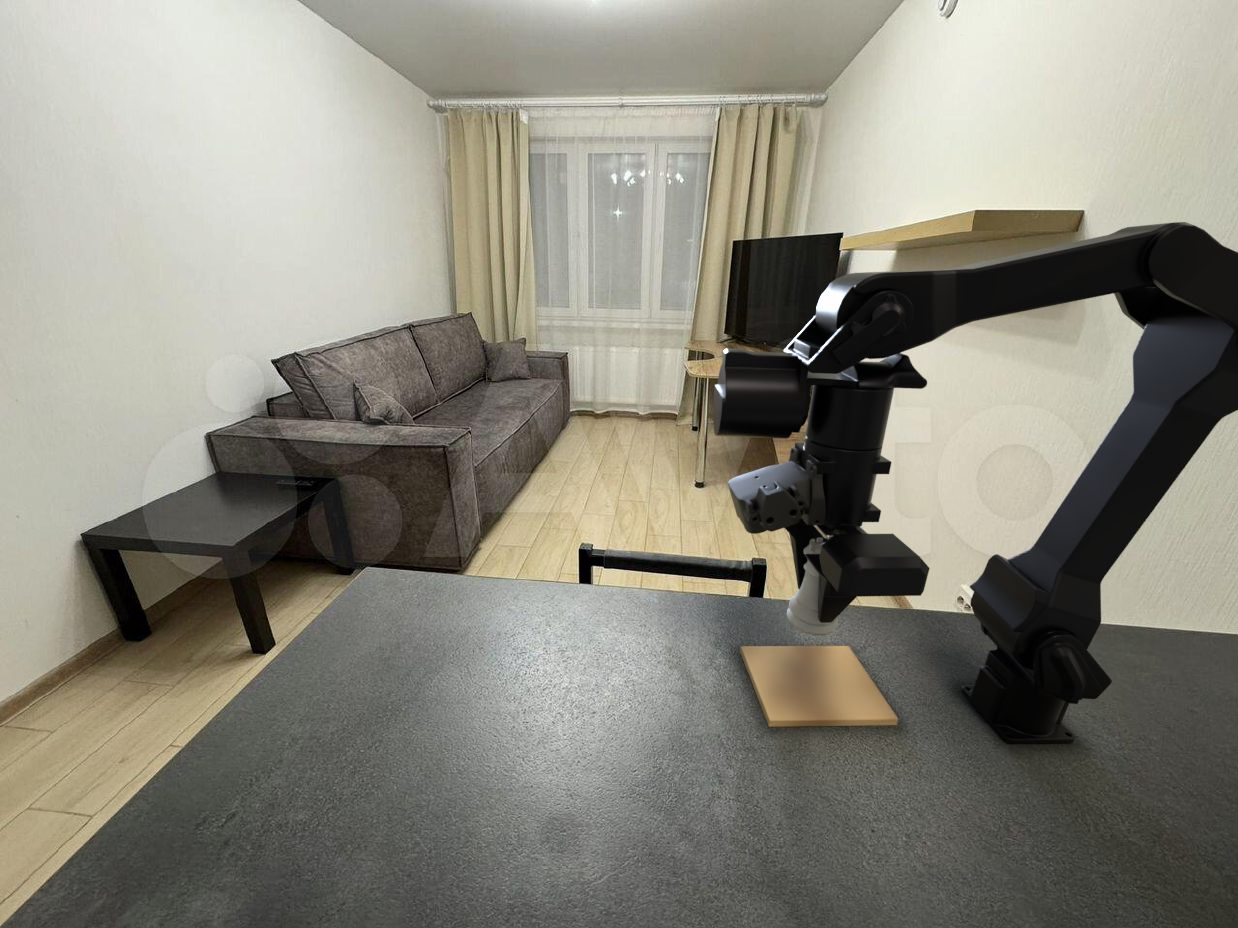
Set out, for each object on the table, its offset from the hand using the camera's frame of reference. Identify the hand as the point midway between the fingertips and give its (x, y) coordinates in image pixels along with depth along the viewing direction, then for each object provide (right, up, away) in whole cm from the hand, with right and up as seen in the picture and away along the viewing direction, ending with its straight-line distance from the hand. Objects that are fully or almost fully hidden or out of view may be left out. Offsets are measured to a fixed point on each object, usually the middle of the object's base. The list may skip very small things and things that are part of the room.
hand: (814, 605), depth 47 cm
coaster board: (+2, -10, +5) cm, 11 cm away
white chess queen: (0, -2, +1) cm, 2 cm away
